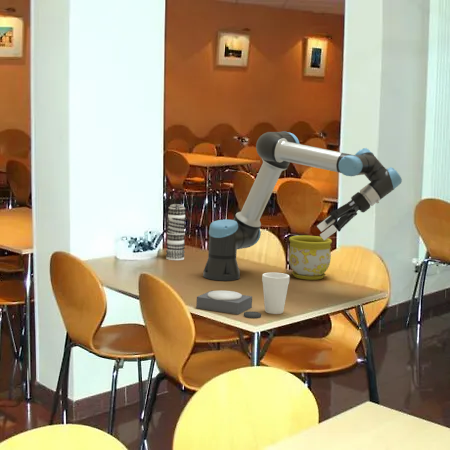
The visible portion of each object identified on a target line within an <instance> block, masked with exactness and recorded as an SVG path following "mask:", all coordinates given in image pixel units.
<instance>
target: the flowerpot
mask: <svg viewBox="0 0 450 450" xmlns="http://www.w3.org/2000/svg"><path fill="white" fill-rule="evenodd" d="M288 240H289V242H290V243H289V250H288V258H287V259H288V264H289V267H290V268H291V270H292V271H291V274H292V275H293V277H294V278H297V279H300V280H307V281H308V280H309V281H316V280H322V279H324V277H325V276H326V271H327V270H328V268H329V267H330V265H331V248H332V246H331V244H332V243H333V241H332V239H331V238H330V237H328V238H327V239H326V240H323V239H322V237H321V236H320V235H319V236H318V235H317V236H316V235H293V236H290V237H288Z"/></svg>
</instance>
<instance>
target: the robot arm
mask: <svg viewBox="0 0 450 450" xmlns="http://www.w3.org/2000/svg"><path fill="white" fill-rule="evenodd" d="M255 148H256V149H255V150H256V153H257V154H258V156H259V158H260V159H261V160H262V164H261V166H260V168H259V170H258V173H257V175H256V178H255V179H254V182H253V184H252V186H251V188H250V189H249V193H248V194H247V198H246V199H245V202H244V204H243V206H242V209H241V210H240V211H238V212H236V214H235V215H234V218H233V219H218V220H214V221H212V222H211V223H210V225H209V230H208V236H209V237H208V256H207V261H206V263H205V266H204V269H203V273H202V274H203V278H205V279H208V280H211V281H224V282H225V281H236V280H239V279H241V277H240V276H241V275H240V273H241V272H240V269H239V264H238V261H237V260H238V259H237V252H238V251H237V250H241V249H247V248H251V247H252V246H254V245H256V244H257V243H258V242H259V240H260V238H261V234H262V231H261V225H262V223H261V221H260V219H261V217H262V215H263V213H264V211H265V208H266V206H267V204H268V203H269V200H270V198H271V196H272V194H273V191H274V189H275V186H276V185H277V183H278V181H279V178H280V176H281V174H282V172H283V171H285V170H288V167H289V165H290V163H292V164H297V165H302V166H307V167H312V168H316V169H320V170H325V171H330V172H336V173H340V174H342V175H343V176H346V177H356V176H363V175H364V176H365V177H366V178H367V179H368V181H369V183H367V185H365V186H364V187H362V188H361V189H359V191H358V192H355V194H354V195H352V196H351V197H350V200H349V201H348V202H346V203H345V204H343V205H342V206H341V205H340V207H338V208H336V209H335V210H332V211H330V212H329V216H327V217H326V218H325V219H324V220H322V221H320V222H319V223H318V224H317V225H316V227H317V229H318V230H319V231H320V232H321V233H320V234H319V237H322V239H323V240H326V239H327V238H330V237H331V236H333V235H334V233H336V232H341V230H342V229H343V228H344V227H346V225H347V224H348V223H349V222H351V220H352V219H353V218H355V216H357V215H358V212H359V211H360V213H366V212H367V211H369V209H370V208H371V207H372V206H374V205H375V204H379V203H380V202H379V201H380V200H382V199H383V198H384V197H385V196H388V194H390V193H391V192H393V191H395V189H396V188H397V187H399V186H400V185H401V184H402V182H403V179H402V177H401V175H400V173H398V171H397V170H396V169H395V168H394V167H392V166H390V167H388V168H386V167H385V166H384V165H383V164H382V163H381V161H380V160H379V159H378V158H377V156H375V154H374V153H373V152H371V151H370V149H369V148H367V147H364V148H362V149H359V150H358V151H357V152H356V153H354V154H352V153H351V154H350V153H347V152H346V153H345V152H341V151H335V150H330V149H325V148H321V147H316V146H310V145H308V144H307V145H305V144H301V143H300V141H299V139H298V137H297V136H296V135H295V134H294V133H291V132H290V131H289V132H287V131H267V132H265V133H263V134H262V135H260V136H259V137H258V139H257V141H256V144H255ZM336 220H337V221H336Z"/></svg>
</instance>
